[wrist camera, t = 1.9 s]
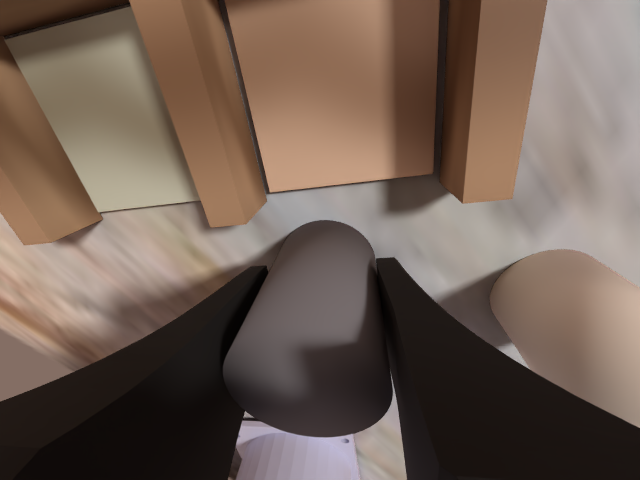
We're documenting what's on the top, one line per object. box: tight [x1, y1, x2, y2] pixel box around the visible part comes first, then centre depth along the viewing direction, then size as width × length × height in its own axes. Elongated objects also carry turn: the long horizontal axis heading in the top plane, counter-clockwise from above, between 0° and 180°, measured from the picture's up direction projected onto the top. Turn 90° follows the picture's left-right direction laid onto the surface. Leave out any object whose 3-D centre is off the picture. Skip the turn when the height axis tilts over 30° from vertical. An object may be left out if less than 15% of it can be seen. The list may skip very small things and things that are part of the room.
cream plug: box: [490, 249, 640, 428], centre depth 8 cm, size 4×4×6 cm
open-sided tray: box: [0, 0, 547, 245], centre depth 8 cm, size 8×16×2 cm, turn 98°
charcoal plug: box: [223, 220, 393, 438], centre depth 9 cm, size 4×4×6 cm
